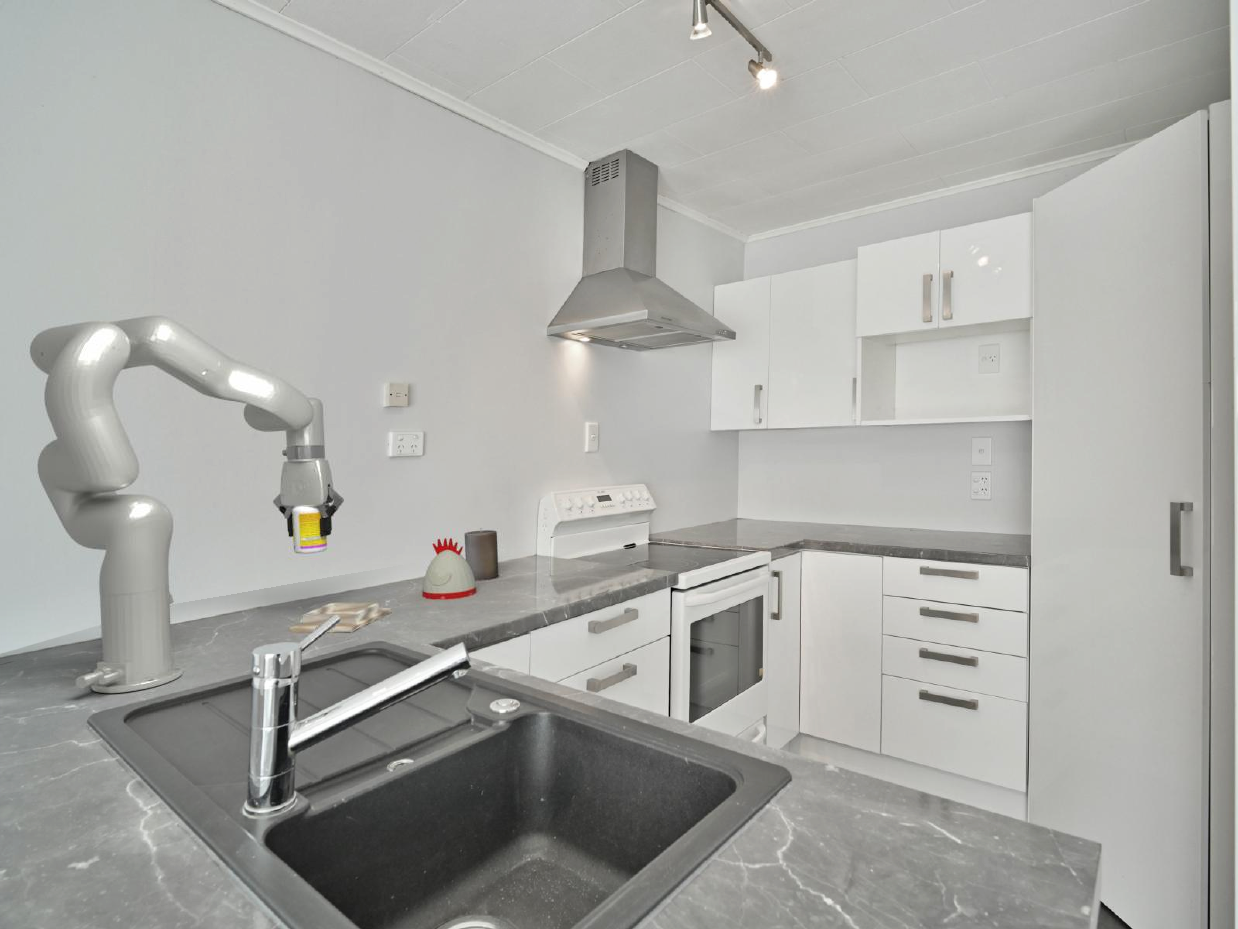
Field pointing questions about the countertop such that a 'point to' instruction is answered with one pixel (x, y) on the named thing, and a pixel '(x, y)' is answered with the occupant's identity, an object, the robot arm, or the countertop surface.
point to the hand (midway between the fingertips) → (310, 535)
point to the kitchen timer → (448, 574)
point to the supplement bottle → (307, 530)
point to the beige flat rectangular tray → (349, 613)
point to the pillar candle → (482, 553)
